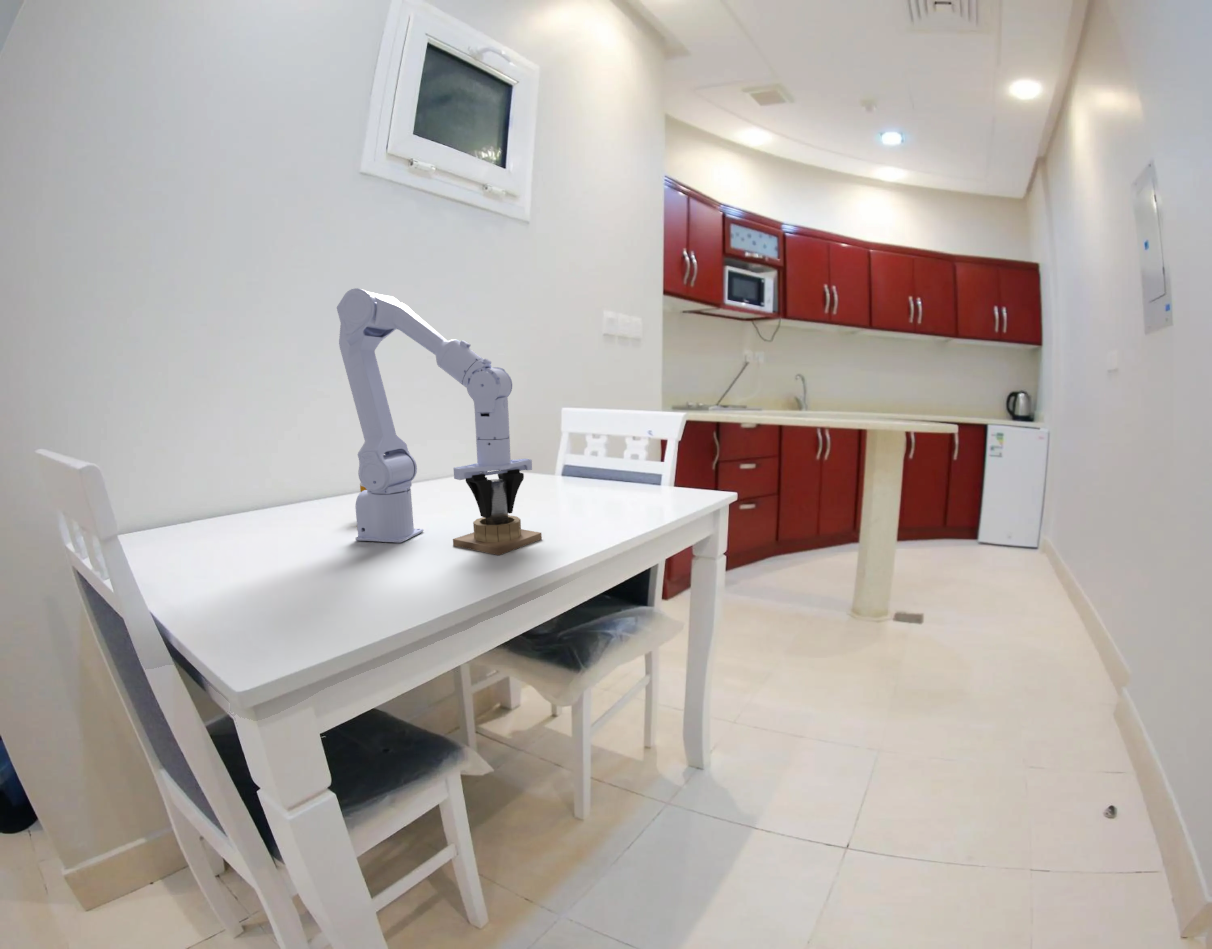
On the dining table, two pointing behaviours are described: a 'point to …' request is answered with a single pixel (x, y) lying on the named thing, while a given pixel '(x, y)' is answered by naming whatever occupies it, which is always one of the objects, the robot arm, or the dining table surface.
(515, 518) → the socket block
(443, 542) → the dining table surface
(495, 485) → the steel pin
